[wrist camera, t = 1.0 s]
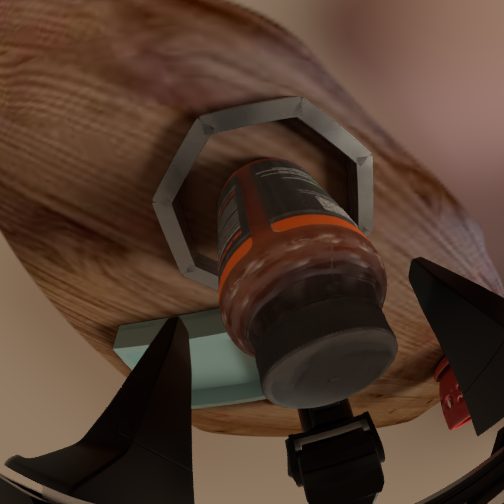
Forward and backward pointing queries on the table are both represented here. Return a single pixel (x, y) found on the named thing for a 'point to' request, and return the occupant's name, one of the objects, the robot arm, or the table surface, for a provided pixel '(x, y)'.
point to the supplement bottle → (300, 287)
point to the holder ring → (247, 115)
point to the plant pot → (451, 396)
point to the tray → (201, 359)
